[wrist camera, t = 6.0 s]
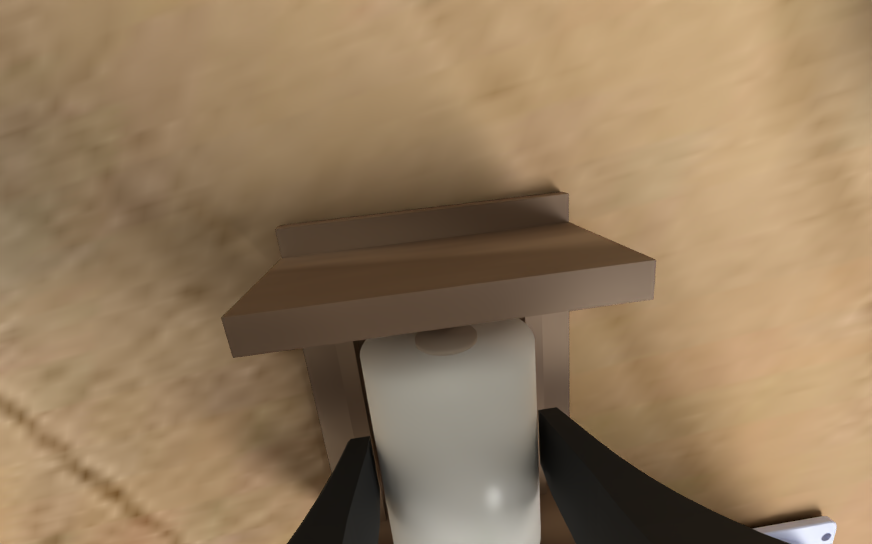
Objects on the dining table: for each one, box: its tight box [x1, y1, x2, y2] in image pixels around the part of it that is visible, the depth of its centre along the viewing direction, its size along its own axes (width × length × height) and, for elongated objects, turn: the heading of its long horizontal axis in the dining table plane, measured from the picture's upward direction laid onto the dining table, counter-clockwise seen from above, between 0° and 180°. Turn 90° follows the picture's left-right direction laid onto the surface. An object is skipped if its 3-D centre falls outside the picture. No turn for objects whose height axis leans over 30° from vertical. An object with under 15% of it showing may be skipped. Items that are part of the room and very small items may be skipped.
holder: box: [221, 192, 656, 544], centre depth 14 cm, size 14×10×6 cm
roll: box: [360, 318, 541, 544], centre depth 13 cm, size 7×5×5 cm
